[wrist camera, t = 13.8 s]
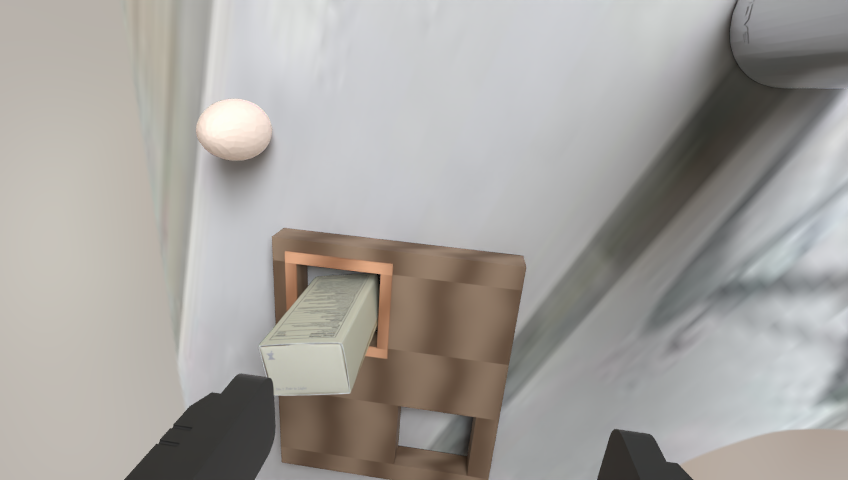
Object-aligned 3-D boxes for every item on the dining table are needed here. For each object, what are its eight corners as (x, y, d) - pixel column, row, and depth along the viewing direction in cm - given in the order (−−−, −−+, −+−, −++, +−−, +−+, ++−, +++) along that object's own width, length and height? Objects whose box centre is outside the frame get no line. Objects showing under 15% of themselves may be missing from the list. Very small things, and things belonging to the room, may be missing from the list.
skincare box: (323, 314, 42) (267, 398, 31) (315, 273, 41) (253, 345, 30) (385, 312, 42) (351, 397, 30) (379, 270, 40) (341, 343, 29)
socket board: (523, 255, 38) (526, 267, 35) (484, 474, 47) (485, 496, 44) (283, 227, 40) (270, 237, 37) (291, 444, 49) (280, 463, 46)
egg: (223, 130, 37) (165, 140, 30) (248, 85, 36) (194, 85, 29) (267, 164, 38) (220, 181, 31) (294, 121, 36) (251, 130, 29)
